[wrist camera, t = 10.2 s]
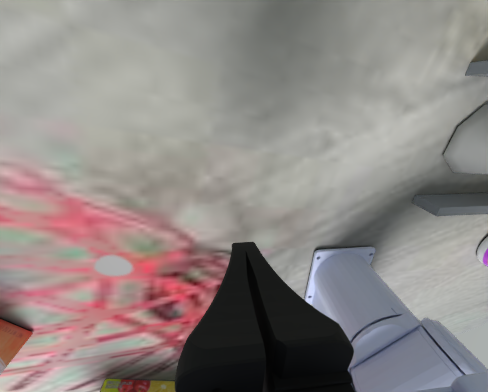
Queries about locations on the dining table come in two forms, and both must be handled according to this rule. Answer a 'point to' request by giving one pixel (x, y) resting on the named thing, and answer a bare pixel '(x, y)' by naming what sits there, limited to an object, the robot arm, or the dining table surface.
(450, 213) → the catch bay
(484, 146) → the flask
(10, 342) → the cracker box
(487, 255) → the supplement bottle
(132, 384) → the snack box
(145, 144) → the dining table surface
